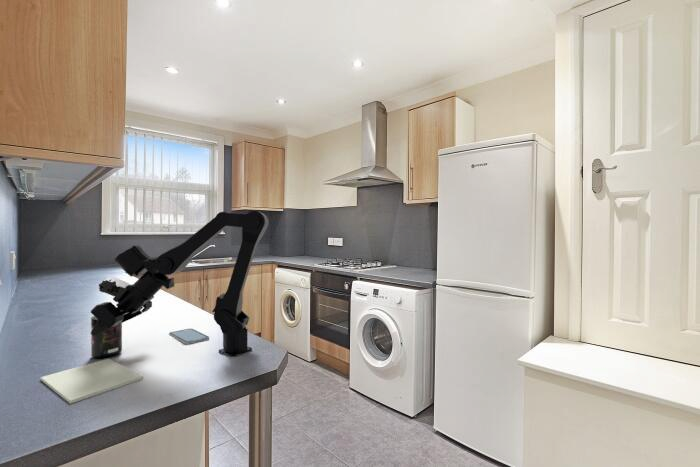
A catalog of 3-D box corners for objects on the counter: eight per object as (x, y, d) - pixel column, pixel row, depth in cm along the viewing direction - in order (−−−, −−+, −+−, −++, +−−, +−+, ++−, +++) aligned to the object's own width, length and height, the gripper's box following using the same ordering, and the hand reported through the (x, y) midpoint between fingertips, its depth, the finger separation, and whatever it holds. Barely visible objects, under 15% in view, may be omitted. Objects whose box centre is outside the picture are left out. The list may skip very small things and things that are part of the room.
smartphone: (191, 328, 112) (210, 337, 102) (191, 330, 112) (210, 340, 102) (167, 332, 107) (185, 342, 96) (167, 335, 107) (185, 346, 96)
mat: (142, 378, 75) (142, 376, 75) (70, 403, 64) (70, 400, 64) (108, 360, 84) (108, 358, 84) (40, 379, 74) (40, 377, 74)
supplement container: (111, 349, 93) (111, 312, 93) (128, 352, 90) (128, 314, 90) (84, 357, 87) (84, 317, 87) (101, 361, 84) (101, 320, 84)
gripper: (141, 264, 98) (101, 301, 97) (99, 272, 79) (49, 318, 78) (168, 290, 99) (129, 328, 98) (134, 304, 80) (85, 351, 79)
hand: (101, 330), depth 88 cm, fingers closed on supplement container, 7 cm apart
